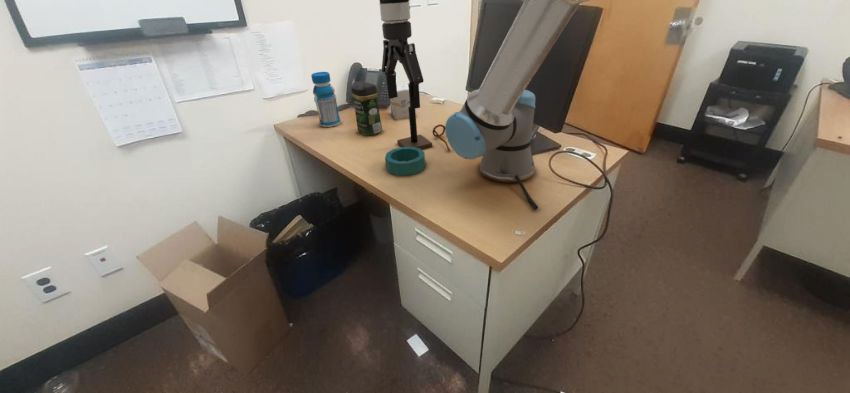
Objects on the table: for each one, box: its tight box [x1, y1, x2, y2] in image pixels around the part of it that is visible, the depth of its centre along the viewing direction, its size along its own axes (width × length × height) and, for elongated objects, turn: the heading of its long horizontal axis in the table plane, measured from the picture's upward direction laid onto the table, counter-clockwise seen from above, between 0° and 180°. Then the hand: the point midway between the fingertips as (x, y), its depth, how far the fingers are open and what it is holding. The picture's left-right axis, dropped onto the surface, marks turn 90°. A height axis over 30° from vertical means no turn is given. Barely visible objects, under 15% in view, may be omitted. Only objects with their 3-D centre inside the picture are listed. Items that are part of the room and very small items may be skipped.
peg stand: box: [396, 106, 433, 151], centre depth 116 cm, size 9×9×14 cm
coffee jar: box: [350, 80, 383, 137], centre depth 127 cm, size 10×8×19 cm
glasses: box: [432, 124, 451, 152], centre depth 119 cm, size 13×13×5 cm
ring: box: [384, 146, 426, 177], centre depth 105 cm, size 12×12×4 cm
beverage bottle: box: [311, 71, 341, 128], centre depth 137 cm, size 8×8×20 cm
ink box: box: [389, 83, 410, 121], centre depth 143 cm, size 9×8×12 cm
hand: (403, 102), depth 101 cm, fingers open, 13 cm apart
